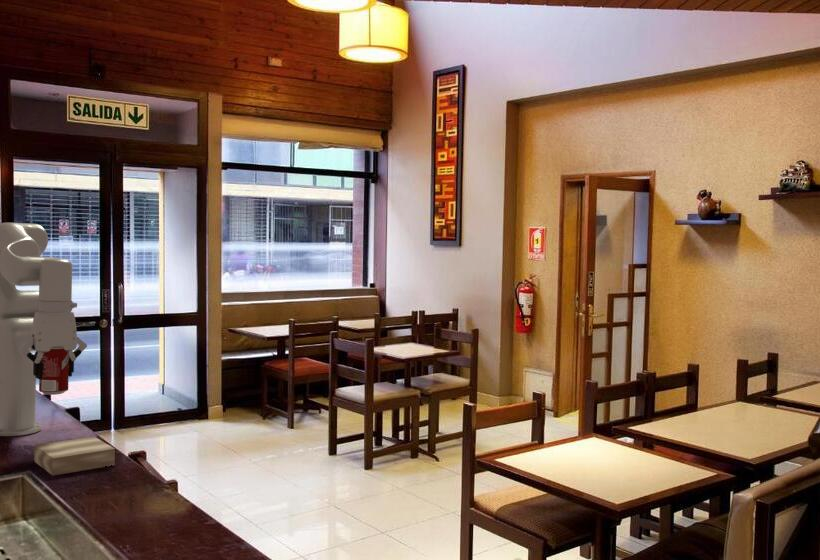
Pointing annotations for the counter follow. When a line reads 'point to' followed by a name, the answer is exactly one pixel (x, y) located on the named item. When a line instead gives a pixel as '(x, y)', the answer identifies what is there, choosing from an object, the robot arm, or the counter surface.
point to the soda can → (54, 371)
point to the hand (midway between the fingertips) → (53, 376)
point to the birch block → (74, 455)
